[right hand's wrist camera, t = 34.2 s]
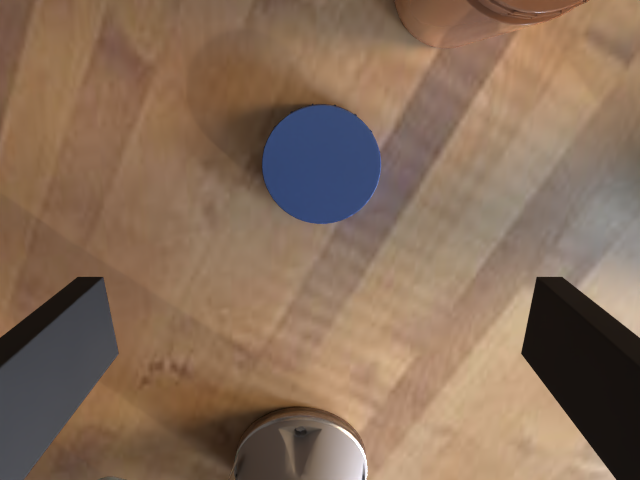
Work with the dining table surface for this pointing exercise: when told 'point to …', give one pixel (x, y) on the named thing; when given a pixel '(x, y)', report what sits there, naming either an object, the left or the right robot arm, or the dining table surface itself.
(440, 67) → the dining table surface
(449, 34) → the jar
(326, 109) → the lid
